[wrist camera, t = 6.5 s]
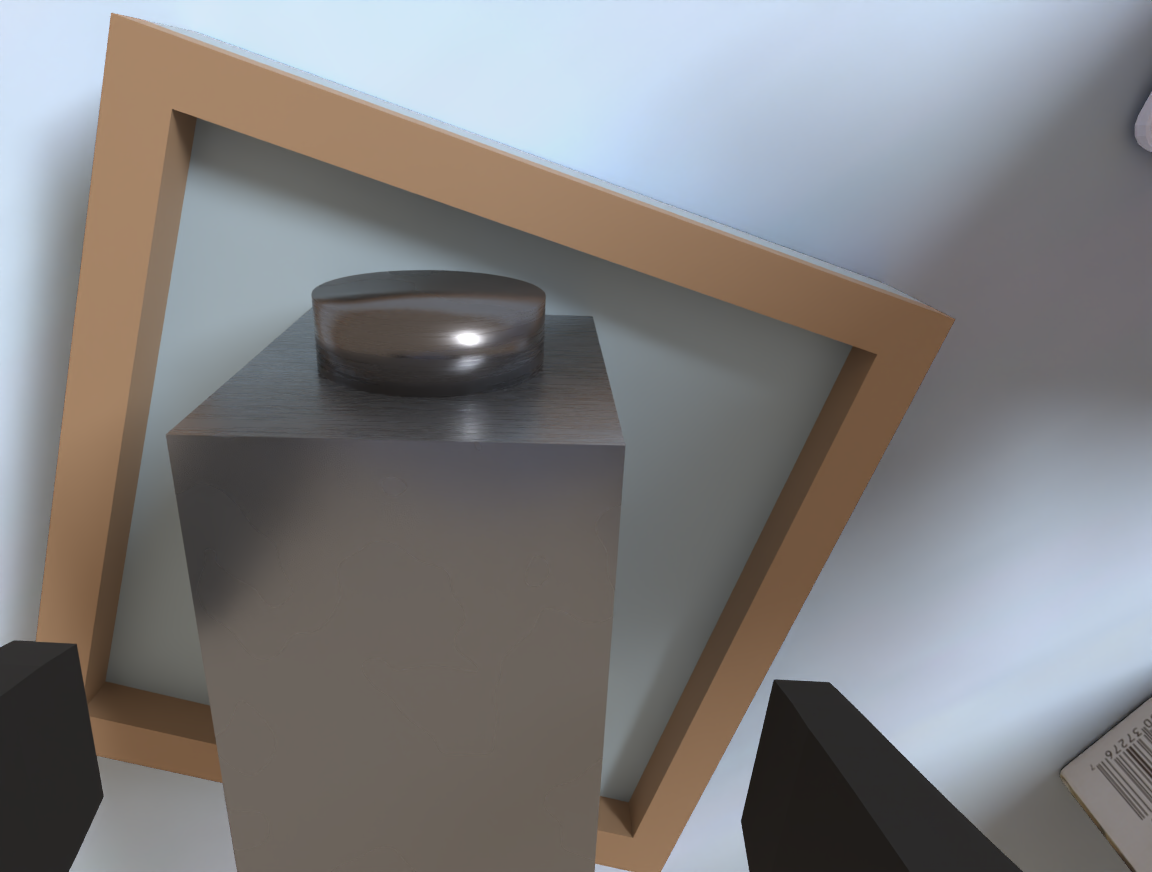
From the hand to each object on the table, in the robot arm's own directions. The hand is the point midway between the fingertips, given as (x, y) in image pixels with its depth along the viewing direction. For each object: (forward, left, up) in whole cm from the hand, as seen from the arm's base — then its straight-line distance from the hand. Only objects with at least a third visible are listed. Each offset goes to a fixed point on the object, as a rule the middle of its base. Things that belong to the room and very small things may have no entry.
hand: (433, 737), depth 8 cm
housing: (0, +1, -8) cm, 8 cm away
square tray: (0, +2, -10) cm, 10 cm away
